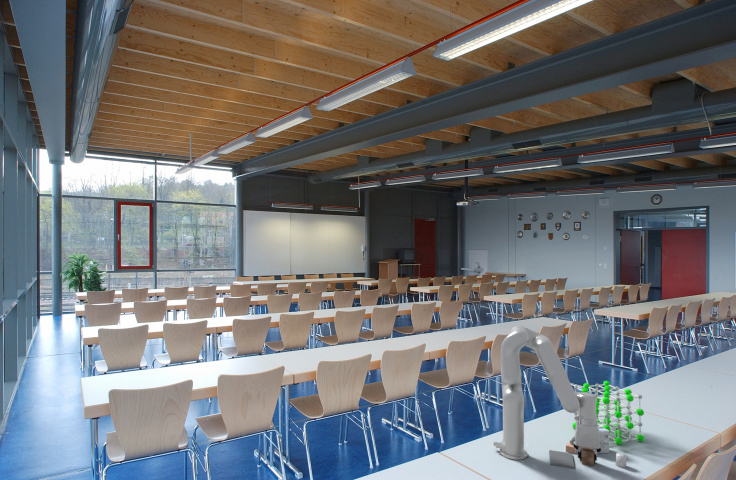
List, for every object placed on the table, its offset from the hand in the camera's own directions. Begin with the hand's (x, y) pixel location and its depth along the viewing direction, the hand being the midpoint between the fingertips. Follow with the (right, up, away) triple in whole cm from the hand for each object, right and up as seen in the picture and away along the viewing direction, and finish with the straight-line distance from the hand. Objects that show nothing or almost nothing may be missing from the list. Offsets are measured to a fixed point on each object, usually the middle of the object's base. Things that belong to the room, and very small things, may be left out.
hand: (587, 460), depth 203 cm
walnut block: (0, -1, 0) cm, 1 cm away
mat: (-11, -1, +2) cm, 11 cm away
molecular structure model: (+25, -2, +30) cm, 39 cm away
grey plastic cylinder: (+14, -1, -3) cm, 14 cm away
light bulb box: (+10, -1, +12) cm, 16 cm away
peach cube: (-2, -1, +11) cm, 12 cm away
